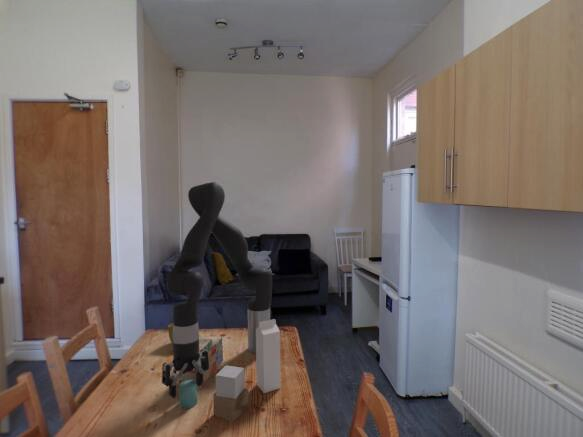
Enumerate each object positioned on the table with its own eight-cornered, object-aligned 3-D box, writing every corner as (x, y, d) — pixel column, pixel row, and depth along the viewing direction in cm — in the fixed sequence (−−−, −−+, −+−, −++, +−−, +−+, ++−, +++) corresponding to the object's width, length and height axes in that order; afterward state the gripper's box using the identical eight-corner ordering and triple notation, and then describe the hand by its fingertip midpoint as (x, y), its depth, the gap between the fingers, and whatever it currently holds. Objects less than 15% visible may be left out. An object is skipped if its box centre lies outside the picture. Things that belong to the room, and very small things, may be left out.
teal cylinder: (191, 397, 107) (190, 378, 106) (200, 403, 103) (199, 383, 103) (176, 404, 103) (176, 384, 103) (185, 410, 100) (184, 390, 99)
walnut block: (230, 402, 104) (230, 383, 103) (248, 409, 100) (248, 389, 100) (213, 414, 98) (213, 394, 97) (232, 422, 94) (231, 401, 94)
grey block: (226, 385, 102) (225, 365, 102) (244, 387, 101) (244, 368, 100) (216, 395, 97) (215, 375, 96) (235, 399, 95) (235, 378, 95)
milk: (280, 388, 111) (280, 321, 110) (263, 393, 108) (263, 325, 107) (272, 379, 116) (272, 316, 115) (256, 384, 113) (255, 319, 112)
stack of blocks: (208, 359, 132) (207, 328, 132) (223, 361, 131) (222, 329, 130) (179, 389, 111) (178, 352, 111) (196, 391, 110) (196, 354, 109)
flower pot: (197, 340, 150) (196, 320, 150) (186, 349, 142) (186, 327, 141) (179, 339, 152) (178, 319, 152) (167, 347, 144) (167, 326, 143)
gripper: (199, 328, 110) (200, 377, 110) (156, 341, 99) (157, 396, 100) (213, 334, 105) (213, 386, 105) (169, 348, 94) (170, 406, 95)
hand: (186, 390), depth 103 cm, fingers open, 8 cm apart
